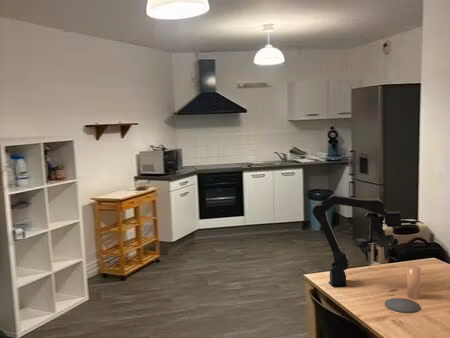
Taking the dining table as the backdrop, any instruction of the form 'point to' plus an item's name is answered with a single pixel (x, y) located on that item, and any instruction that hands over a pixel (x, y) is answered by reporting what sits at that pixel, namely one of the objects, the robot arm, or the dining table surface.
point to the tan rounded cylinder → (413, 282)
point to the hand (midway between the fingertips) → (376, 260)
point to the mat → (402, 305)
